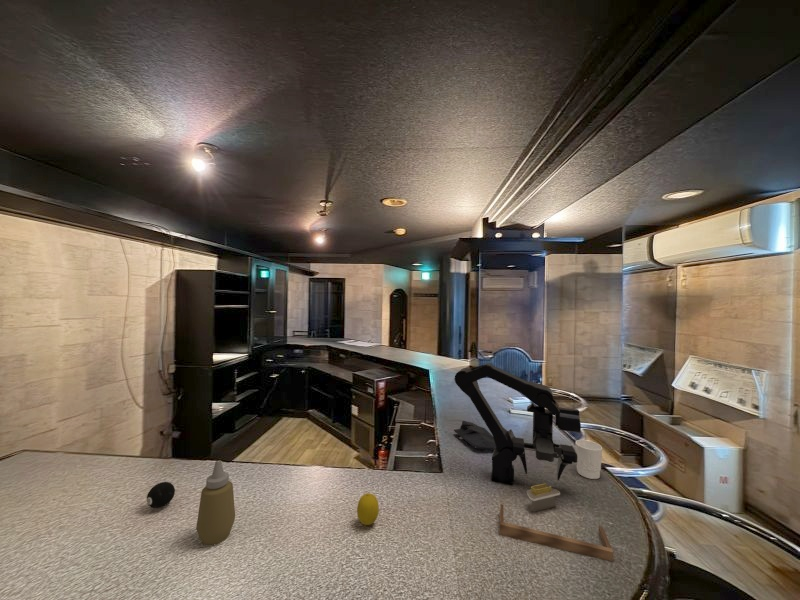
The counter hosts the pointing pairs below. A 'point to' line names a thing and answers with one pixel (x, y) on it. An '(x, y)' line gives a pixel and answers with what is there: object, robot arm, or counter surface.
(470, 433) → the dark slate chunk
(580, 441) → the white cup
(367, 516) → the lemon
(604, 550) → the frame
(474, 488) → the counter surface
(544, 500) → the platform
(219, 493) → the squeeze bottle
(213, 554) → the counter surface
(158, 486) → the black ovoid
